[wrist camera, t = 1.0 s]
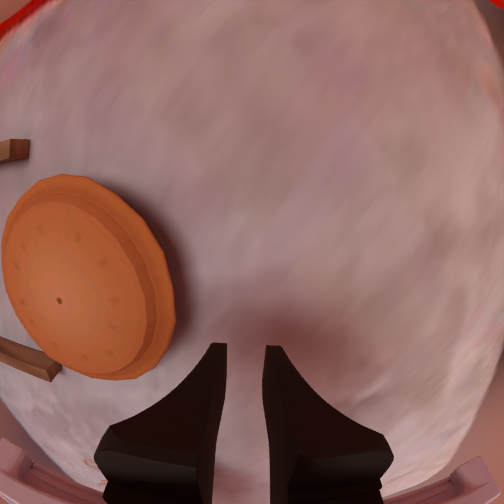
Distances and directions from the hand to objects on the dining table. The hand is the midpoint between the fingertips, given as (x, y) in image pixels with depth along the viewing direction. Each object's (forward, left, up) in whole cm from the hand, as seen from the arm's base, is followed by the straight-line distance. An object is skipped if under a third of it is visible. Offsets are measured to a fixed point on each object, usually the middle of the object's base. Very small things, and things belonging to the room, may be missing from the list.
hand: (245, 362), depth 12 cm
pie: (0, +12, -9) cm, 15 cm away
